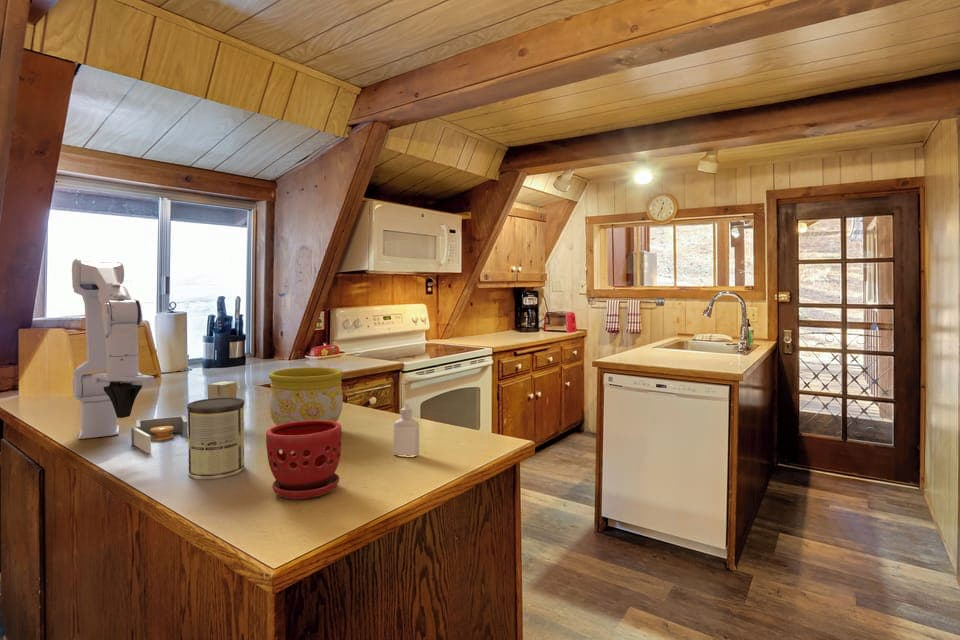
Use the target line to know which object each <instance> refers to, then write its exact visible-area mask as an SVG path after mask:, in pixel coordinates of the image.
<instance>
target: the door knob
mask: <svg viewBox="0 0 960 640" xmlns="http://www.w3.org/2000/svg"><path fill="white" fill-rule="evenodd" d="M172 430H174V427H173V426H159V427H154V428H151V429H150V432H152V433H154V434H155V435H150V436H151V441H163V440H165V439H166V440H170V439H172V437H173V438H174V437H175V435H174V433H170V431H172ZM169 438H170V439H169ZM166 440H165V441H166Z"/></svg>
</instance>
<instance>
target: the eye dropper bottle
mask: <svg viewBox="0 0 960 640" xmlns="http://www.w3.org/2000/svg"><path fill="white" fill-rule="evenodd" d="M394 454H396V455H406V456H411V455H417V454H420V423H419V422H418V420H416V419H414V418H413V409H412V408H411V407H410V406H409V402H404V406H403V407H402V408H401V409H400V418H398V419H397V420H396V421H394V424H393V455H394Z"/></svg>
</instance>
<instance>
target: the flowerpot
mask: <svg viewBox="0 0 960 640" xmlns="http://www.w3.org/2000/svg"><path fill="white" fill-rule="evenodd" d="M343 375H344V371H343V370H342V369H340V368H336V367H335V368H332V367H325V366H324V367H323V366H321V367H320V366H317V367H316V366H313V367H312V366H310V367H308V366H306V367H291V368H283V369H277V370H273V371H270V373H269V374H268V378H269V379H270V382H271V383H270V384H269V386H270V392H269V402H268V405H269V406H268V407H269V413H270V418H271V419H272V421H273V423H274V426H277V425H281V424H285V423H290V422H297V421H307V420H327V421H334V422H338V420H339V418H340V416H341V413H342V410H343V404H344V403H343V401H344V399H343V390H342V383H343V381H342V378H341V377H343Z"/></svg>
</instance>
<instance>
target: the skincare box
mask: <svg viewBox="0 0 960 640" xmlns="http://www.w3.org/2000/svg"><path fill="white" fill-rule="evenodd" d="M211 398H237V381H229V380H228V381H227V380H224V381H218V382H217V381H216V382H214V383H209V384H207V399H211Z"/></svg>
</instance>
